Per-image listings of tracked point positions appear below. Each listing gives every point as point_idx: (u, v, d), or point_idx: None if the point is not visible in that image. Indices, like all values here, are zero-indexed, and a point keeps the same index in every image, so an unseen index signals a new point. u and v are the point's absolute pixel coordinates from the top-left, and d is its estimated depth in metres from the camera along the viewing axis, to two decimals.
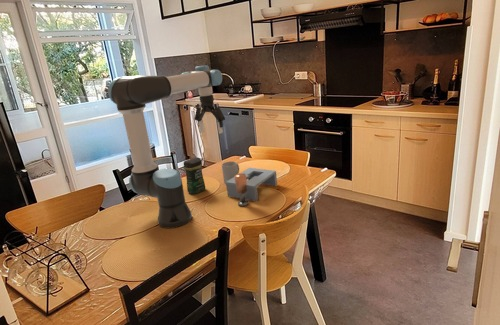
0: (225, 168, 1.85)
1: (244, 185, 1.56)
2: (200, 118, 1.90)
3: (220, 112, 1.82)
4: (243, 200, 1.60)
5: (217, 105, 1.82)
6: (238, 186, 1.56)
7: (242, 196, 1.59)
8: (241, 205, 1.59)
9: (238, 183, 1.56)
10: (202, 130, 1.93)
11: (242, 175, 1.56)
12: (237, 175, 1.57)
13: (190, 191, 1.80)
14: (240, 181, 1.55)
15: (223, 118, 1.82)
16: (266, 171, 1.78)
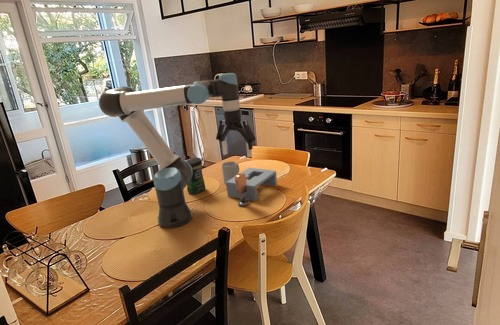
0: (225, 168, 1.85)
1: (244, 185, 1.56)
2: (223, 137, 1.55)
3: (250, 131, 1.46)
4: (243, 200, 1.60)
5: (246, 122, 1.46)
6: (238, 186, 1.56)
7: (242, 196, 1.59)
8: (241, 205, 1.59)
9: (238, 183, 1.56)
10: (225, 152, 1.57)
11: (242, 175, 1.56)
12: (237, 175, 1.57)
13: (190, 191, 1.80)
14: (240, 181, 1.55)
15: (253, 138, 1.46)
16: (266, 171, 1.78)
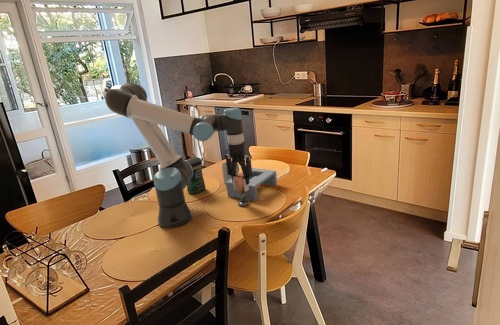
0: (225, 168, 1.85)
1: None
2: (234, 172, 1.58)
3: (250, 167, 1.52)
4: (243, 200, 1.60)
5: (249, 159, 1.51)
6: (238, 186, 1.56)
7: (242, 196, 1.59)
8: (241, 205, 1.59)
9: (238, 183, 1.56)
10: None
11: (242, 175, 1.56)
12: (237, 175, 1.57)
13: (190, 191, 1.80)
14: (240, 181, 1.55)
15: (250, 174, 1.53)
16: (266, 171, 1.78)
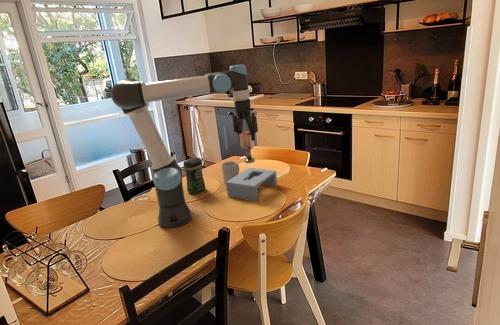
0: (225, 168, 1.85)
1: None
2: (240, 129, 1.63)
3: (255, 123, 1.57)
4: (249, 157, 1.65)
5: (255, 114, 1.56)
6: (244, 142, 1.61)
7: (248, 153, 1.64)
8: (247, 162, 1.64)
9: (244, 139, 1.61)
10: None
11: (248, 132, 1.61)
12: (243, 132, 1.62)
13: (190, 191, 1.80)
14: (246, 137, 1.60)
15: (256, 130, 1.58)
16: (266, 171, 1.78)
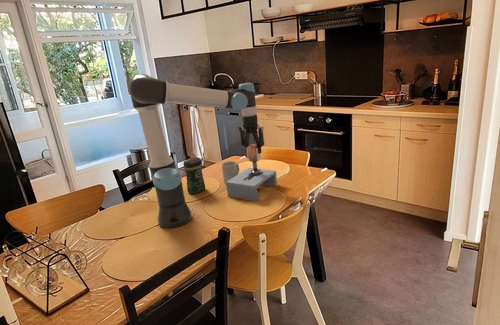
0: (225, 168, 1.85)
1: (256, 154, 1.72)
2: (247, 142, 1.73)
3: (262, 137, 1.68)
4: (255, 168, 1.75)
5: (262, 129, 1.66)
6: (251, 155, 1.72)
7: (255, 165, 1.75)
8: (254, 173, 1.75)
9: (251, 152, 1.71)
10: None
11: (255, 145, 1.72)
12: (250, 145, 1.73)
13: (190, 191, 1.80)
14: (253, 150, 1.70)
15: (262, 144, 1.69)
16: (266, 171, 1.78)
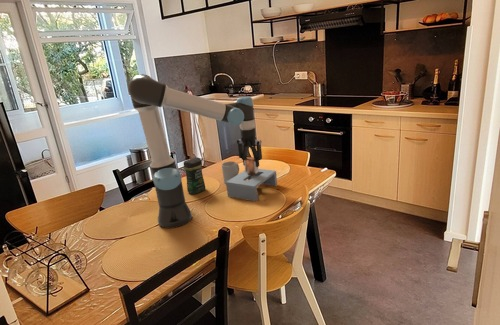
0: (225, 168, 1.85)
1: None
2: (245, 155, 1.73)
3: (260, 151, 1.67)
4: None
5: (260, 143, 1.66)
6: (249, 168, 1.71)
7: None
8: None
9: (249, 166, 1.71)
10: None
11: (252, 158, 1.72)
12: (248, 158, 1.72)
13: (190, 191, 1.80)
14: (251, 164, 1.70)
15: (260, 157, 1.68)
16: (266, 171, 1.78)
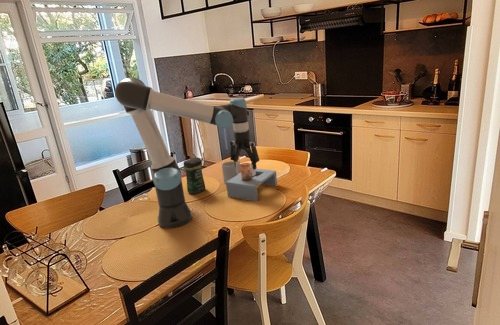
0: (225, 168, 1.85)
1: (249, 173, 1.67)
2: (236, 157, 1.69)
3: (256, 153, 1.62)
4: None
5: (254, 144, 1.61)
6: (243, 174, 1.67)
7: None
8: None
9: (243, 172, 1.67)
10: (239, 171, 1.71)
11: (247, 164, 1.68)
12: (242, 164, 1.68)
13: (190, 191, 1.80)
14: (245, 170, 1.66)
15: (257, 159, 1.63)
16: (266, 171, 1.78)
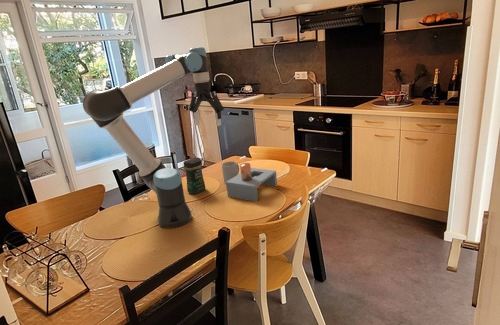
0: (225, 168, 1.85)
1: (249, 173, 1.67)
2: (195, 109, 1.67)
3: (218, 101, 1.59)
4: None
5: (215, 93, 1.58)
6: (243, 174, 1.67)
7: None
8: None
9: (243, 172, 1.67)
10: (198, 122, 1.70)
11: (247, 164, 1.68)
12: (242, 164, 1.68)
13: (190, 191, 1.80)
14: (245, 170, 1.66)
15: (221, 108, 1.59)
16: (266, 171, 1.78)
